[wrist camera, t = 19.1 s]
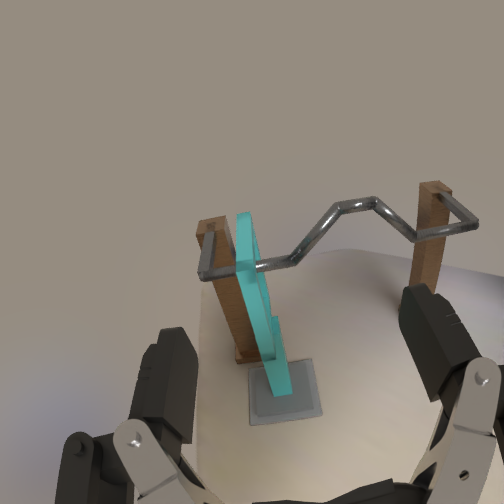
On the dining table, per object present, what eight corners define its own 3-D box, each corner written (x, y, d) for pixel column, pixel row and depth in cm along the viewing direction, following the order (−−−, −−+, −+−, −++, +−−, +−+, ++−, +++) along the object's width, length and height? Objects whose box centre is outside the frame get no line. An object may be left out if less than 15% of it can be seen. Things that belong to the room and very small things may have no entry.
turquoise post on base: (255, 369, 40) (205, 220, 27) (305, 361, 40) (282, 205, 27) (258, 422, 33) (194, 279, 20) (314, 413, 33) (297, 261, 20)
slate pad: (312, 359, 40) (311, 358, 40) (322, 415, 33) (322, 414, 32) (249, 369, 41) (248, 368, 41) (250, 425, 33) (250, 424, 33)
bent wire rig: (421, 303, 43) (441, 147, 29) (448, 353, 34) (499, 182, 20) (237, 341, 46) (183, 187, 32) (237, 400, 37) (160, 239, 23)
